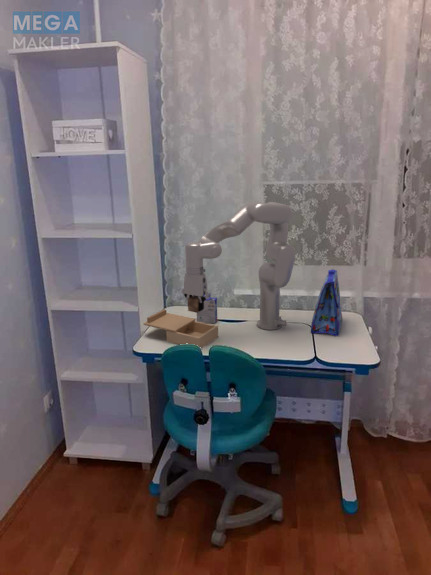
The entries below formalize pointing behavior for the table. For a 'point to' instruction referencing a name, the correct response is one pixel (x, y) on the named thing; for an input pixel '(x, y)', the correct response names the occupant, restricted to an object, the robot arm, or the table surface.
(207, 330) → the mailer box
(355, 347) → the table surface
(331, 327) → the lunch bag
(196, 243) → the robot arm
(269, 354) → the table surface
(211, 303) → the ink cartridge box
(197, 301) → the walnut block
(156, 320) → the lid
